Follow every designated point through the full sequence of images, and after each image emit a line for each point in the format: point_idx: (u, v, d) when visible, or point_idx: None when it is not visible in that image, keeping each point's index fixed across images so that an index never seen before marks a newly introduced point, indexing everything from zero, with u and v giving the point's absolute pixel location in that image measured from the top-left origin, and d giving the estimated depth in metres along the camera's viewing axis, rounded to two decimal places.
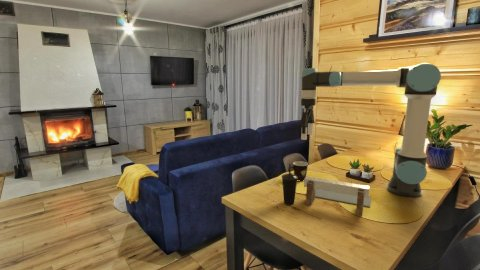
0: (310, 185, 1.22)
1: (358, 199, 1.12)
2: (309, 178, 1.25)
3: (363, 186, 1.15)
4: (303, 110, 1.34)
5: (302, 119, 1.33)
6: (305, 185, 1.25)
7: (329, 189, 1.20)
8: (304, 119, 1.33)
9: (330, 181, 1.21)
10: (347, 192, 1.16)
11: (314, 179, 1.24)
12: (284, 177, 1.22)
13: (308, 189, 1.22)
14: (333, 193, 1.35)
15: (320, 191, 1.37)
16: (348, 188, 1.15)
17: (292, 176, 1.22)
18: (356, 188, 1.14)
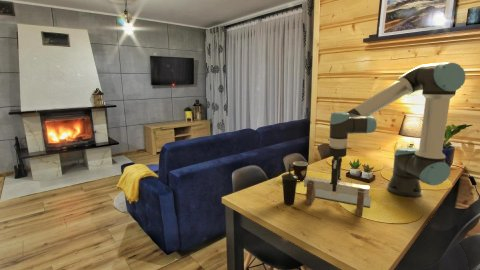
0: (310, 185, 1.22)
1: (358, 199, 1.12)
2: (309, 178, 1.25)
3: (363, 186, 1.15)
4: (333, 167, 1.13)
5: (332, 177, 1.14)
6: (305, 185, 1.25)
7: (329, 189, 1.20)
8: (335, 177, 1.14)
9: (330, 181, 1.21)
10: (347, 192, 1.16)
11: (314, 179, 1.24)
12: (284, 177, 1.22)
13: (308, 189, 1.22)
14: None
15: (320, 191, 1.37)
16: (348, 188, 1.15)
17: (292, 176, 1.22)
18: (356, 188, 1.14)
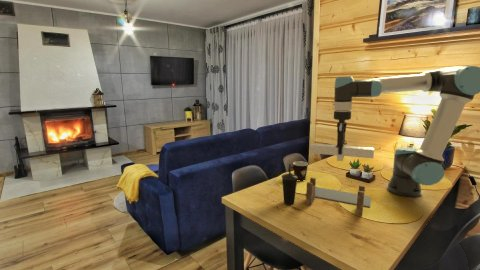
0: (310, 185, 1.22)
1: (358, 199, 1.12)
2: (315, 144, 1.28)
3: (368, 148, 1.18)
4: (338, 129, 1.16)
5: (338, 139, 1.17)
6: (311, 151, 1.28)
7: (335, 153, 1.23)
8: (341, 139, 1.17)
9: (335, 145, 1.25)
10: (352, 154, 1.20)
11: (319, 144, 1.27)
12: (284, 177, 1.22)
13: (308, 189, 1.22)
14: (333, 193, 1.35)
15: (320, 191, 1.37)
16: (354, 150, 1.19)
17: (292, 176, 1.22)
18: (361, 149, 1.18)
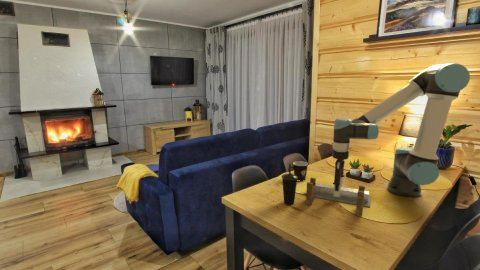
0: (310, 185, 1.22)
1: (358, 199, 1.12)
2: None
3: None
4: (336, 167, 1.23)
5: (336, 176, 1.24)
6: None
7: (332, 194, 1.32)
8: (338, 177, 1.23)
9: (333, 186, 1.33)
10: (349, 197, 1.28)
11: (318, 184, 1.36)
12: (284, 177, 1.22)
13: (308, 189, 1.22)
14: None
15: None
16: (350, 193, 1.27)
17: (292, 176, 1.22)
18: (357, 193, 1.26)
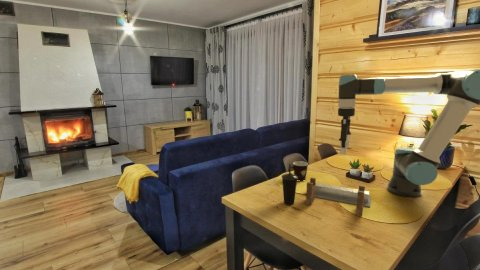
0: (310, 185, 1.22)
1: (358, 199, 1.12)
2: None
3: None
4: (343, 121, 1.20)
5: (342, 132, 1.19)
6: None
7: (332, 194, 1.32)
8: (344, 132, 1.19)
9: (333, 186, 1.33)
10: (349, 197, 1.28)
11: (318, 184, 1.36)
12: (284, 177, 1.22)
13: (308, 189, 1.22)
14: None
15: None
16: (350, 193, 1.27)
17: (292, 176, 1.22)
18: (357, 193, 1.26)
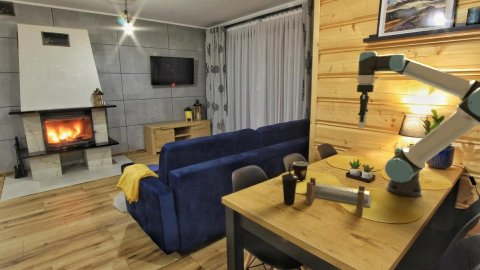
0: (310, 185, 1.22)
1: (358, 199, 1.12)
2: None
3: None
4: (362, 96, 1.25)
5: (361, 106, 1.24)
6: None
7: (332, 194, 1.32)
8: (363, 106, 1.24)
9: (333, 186, 1.33)
10: (349, 197, 1.28)
11: (318, 184, 1.36)
12: (284, 177, 1.22)
13: (308, 189, 1.22)
14: None
15: None
16: (350, 193, 1.27)
17: (292, 176, 1.22)
18: (357, 193, 1.26)
